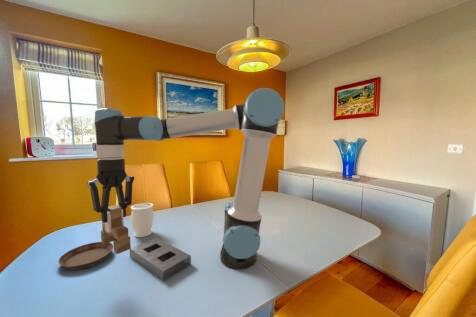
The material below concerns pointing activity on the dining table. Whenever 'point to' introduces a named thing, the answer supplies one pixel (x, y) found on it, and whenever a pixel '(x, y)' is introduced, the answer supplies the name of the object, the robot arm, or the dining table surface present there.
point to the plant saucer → (85, 255)
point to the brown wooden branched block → (116, 231)
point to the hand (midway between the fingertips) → (114, 229)
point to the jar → (142, 219)
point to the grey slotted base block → (160, 258)
